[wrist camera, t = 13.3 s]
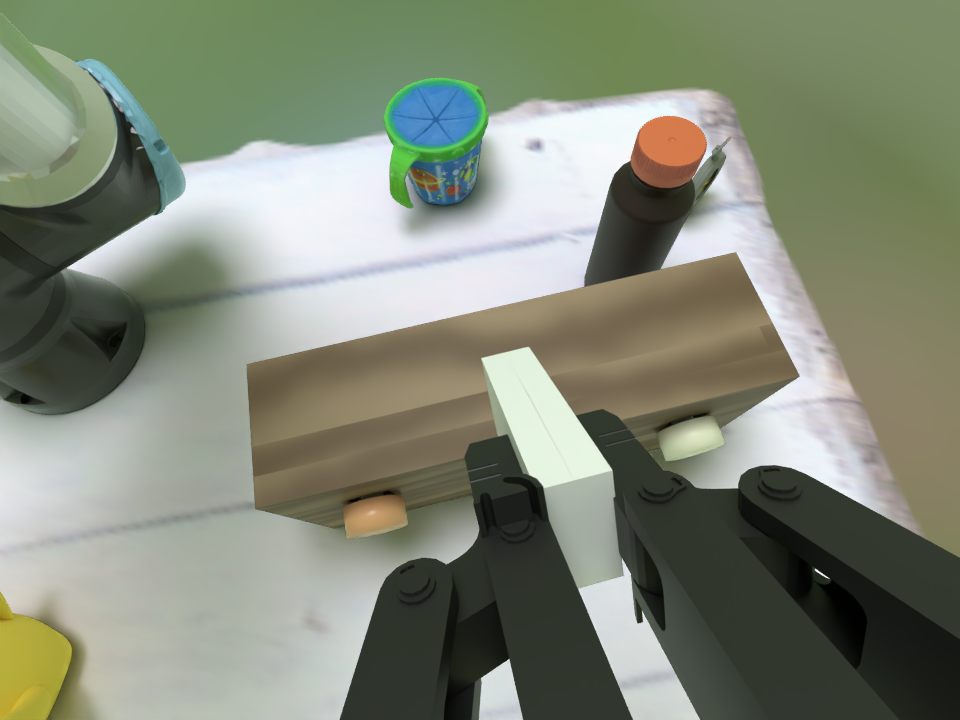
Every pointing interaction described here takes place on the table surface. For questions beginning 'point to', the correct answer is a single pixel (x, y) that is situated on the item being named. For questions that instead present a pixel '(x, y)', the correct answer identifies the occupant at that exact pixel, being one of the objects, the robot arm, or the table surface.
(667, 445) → the cream button
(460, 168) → the snack cup
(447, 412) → the console
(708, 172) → the pocket watch
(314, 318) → the table surface
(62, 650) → the yellow handled pot
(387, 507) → the terracotta button
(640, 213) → the bottle
